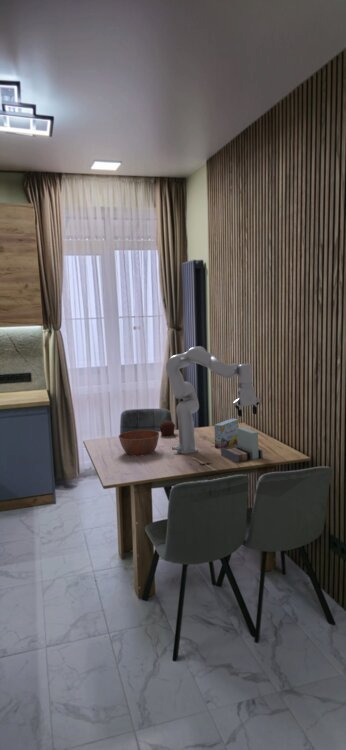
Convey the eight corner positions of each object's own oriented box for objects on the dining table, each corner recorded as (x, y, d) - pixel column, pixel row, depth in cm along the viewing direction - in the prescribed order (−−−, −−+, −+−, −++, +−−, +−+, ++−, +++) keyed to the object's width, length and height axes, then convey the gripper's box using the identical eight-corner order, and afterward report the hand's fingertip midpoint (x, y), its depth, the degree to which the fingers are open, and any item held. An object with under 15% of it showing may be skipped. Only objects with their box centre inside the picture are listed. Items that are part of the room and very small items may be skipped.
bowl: (152, 445, 334) (151, 428, 333) (165, 454, 311) (164, 436, 309) (115, 450, 325) (114, 433, 324) (126, 460, 302) (125, 441, 301)
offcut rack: (236, 464, 283) (236, 455, 283) (221, 456, 300) (220, 447, 299) (262, 459, 290) (262, 450, 289) (245, 452, 306) (245, 443, 305)
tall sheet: (252, 459, 288) (251, 433, 286) (238, 452, 303) (237, 427, 301) (258, 458, 290) (257, 432, 288) (243, 451, 304) (243, 427, 302)
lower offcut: (238, 461, 286) (238, 458, 285) (225, 455, 298) (225, 452, 298) (247, 459, 288) (247, 456, 288) (234, 453, 301) (234, 450, 301)
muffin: (173, 437, 353) (172, 422, 351) (157, 437, 355) (157, 422, 354) (177, 433, 364) (176, 419, 363) (162, 432, 367) (161, 419, 365)
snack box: (222, 449, 316) (221, 425, 314) (214, 448, 319) (213, 424, 318) (239, 441, 333) (238, 418, 331) (232, 440, 336) (231, 417, 334)
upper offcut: (238, 458, 285) (237, 455, 285) (225, 452, 298) (225, 449, 298) (247, 456, 288) (247, 453, 288) (234, 450, 301) (234, 447, 300)
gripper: (236, 387, 284) (237, 418, 286) (262, 384, 291) (263, 414, 293) (229, 386, 291) (230, 416, 293) (255, 383, 298) (256, 412, 300)
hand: (247, 415), depth 293 cm, fingers open, 9 cm apart
